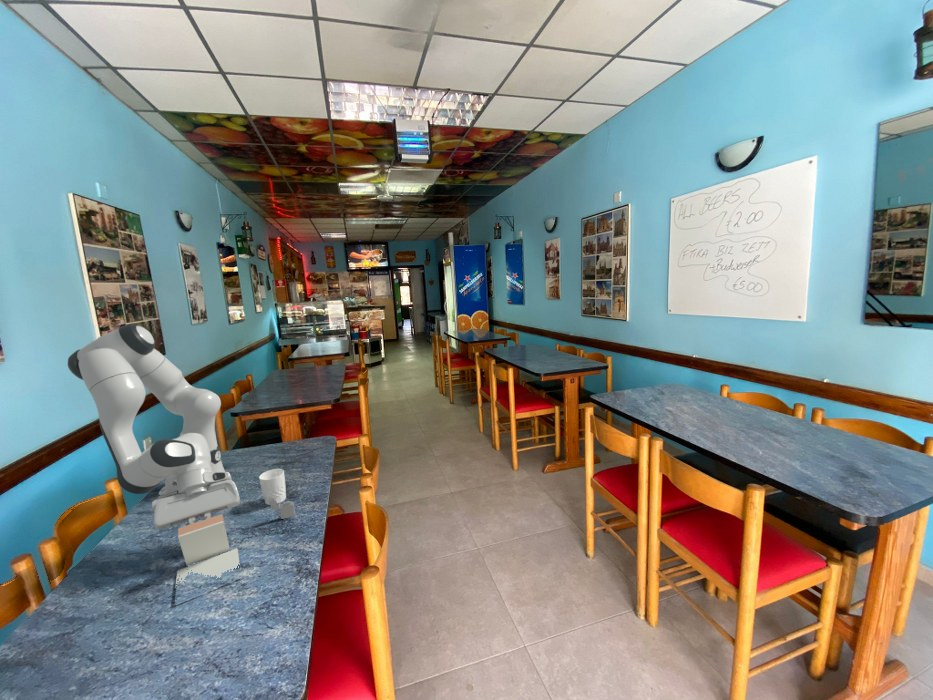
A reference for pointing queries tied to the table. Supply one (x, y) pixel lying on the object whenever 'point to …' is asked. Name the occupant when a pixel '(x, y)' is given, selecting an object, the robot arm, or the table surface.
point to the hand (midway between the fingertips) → (201, 531)
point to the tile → (203, 539)
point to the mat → (212, 565)
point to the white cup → (273, 485)
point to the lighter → (283, 508)
